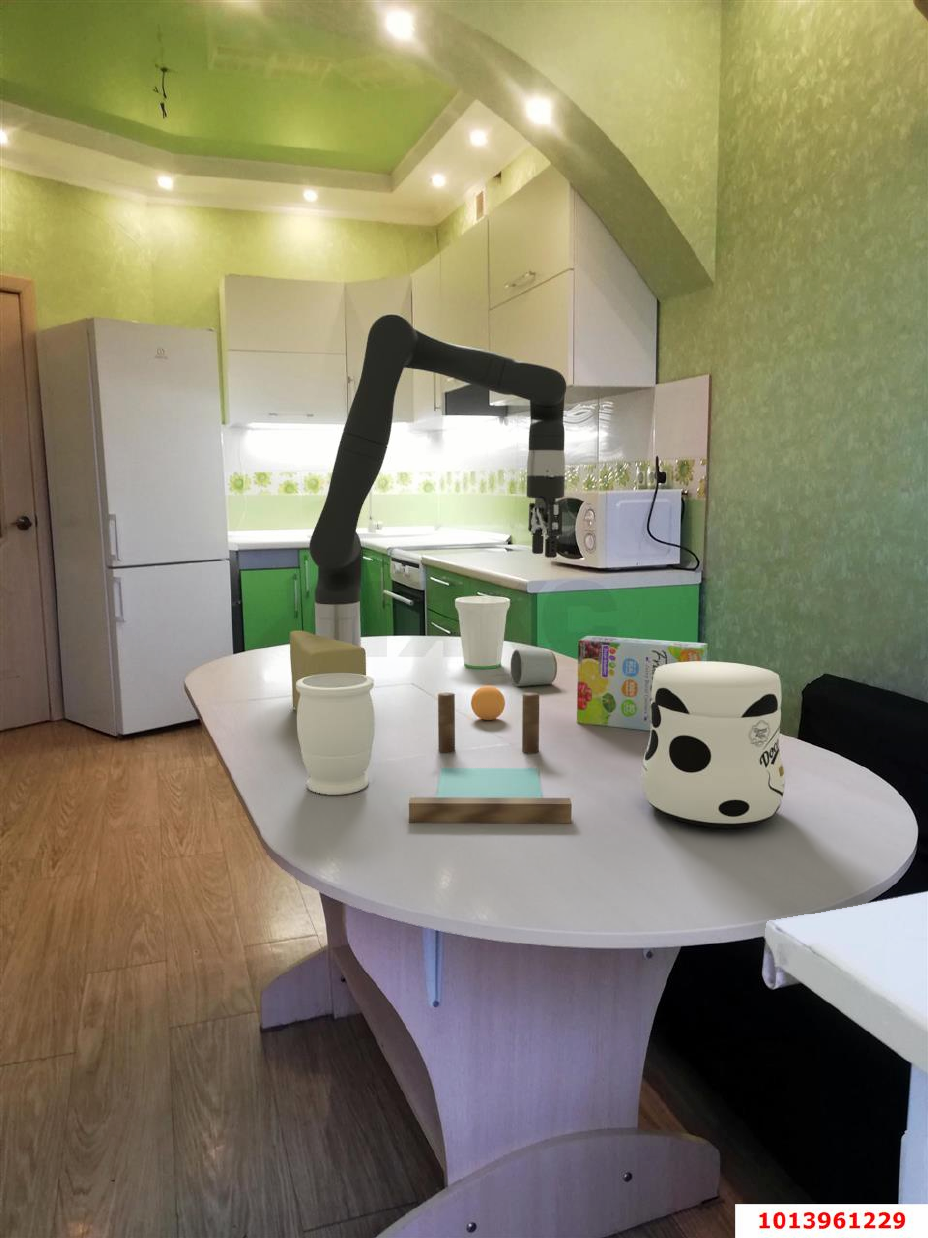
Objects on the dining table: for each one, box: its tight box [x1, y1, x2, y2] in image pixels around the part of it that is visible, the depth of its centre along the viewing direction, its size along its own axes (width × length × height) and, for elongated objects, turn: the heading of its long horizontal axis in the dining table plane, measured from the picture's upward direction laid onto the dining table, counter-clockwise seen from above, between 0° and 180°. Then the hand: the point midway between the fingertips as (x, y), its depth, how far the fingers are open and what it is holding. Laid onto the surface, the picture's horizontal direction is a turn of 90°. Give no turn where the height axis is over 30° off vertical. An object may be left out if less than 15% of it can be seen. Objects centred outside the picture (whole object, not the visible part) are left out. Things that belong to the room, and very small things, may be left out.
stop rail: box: [408, 796, 573, 824], centre depth 107 cm, size 20×2×2 cm, turn 89°
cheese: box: [289, 630, 367, 712], centre depth 151 cm, size 22×10×15 cm, turn 31°
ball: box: [470, 685, 506, 721], centre depth 152 cm, size 6×6×6 cm
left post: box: [437, 692, 456, 754], centre depth 134 cm, size 3×3×9 cm
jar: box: [296, 673, 376, 796], centre depth 118 cm, size 11×10×15 cm
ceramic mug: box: [510, 648, 558, 687], centre depth 180 cm, size 11×8×8 cm
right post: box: [521, 692, 540, 754], centre depth 134 cm, size 3×3×9 cm
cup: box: [454, 595, 511, 670], centre depth 197 cm, size 12×12×15 cm
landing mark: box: [436, 767, 543, 798], centre depth 119 cm, size 14×14×1 cm
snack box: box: [576, 635, 709, 732], centre depth 147 cm, size 21×6×15 cm, turn 65°
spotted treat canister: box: [641, 660, 786, 829], centre depth 108 cm, size 17×17×18 cm
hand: (544, 555), depth 174 cm, fingers open, 8 cm apart
